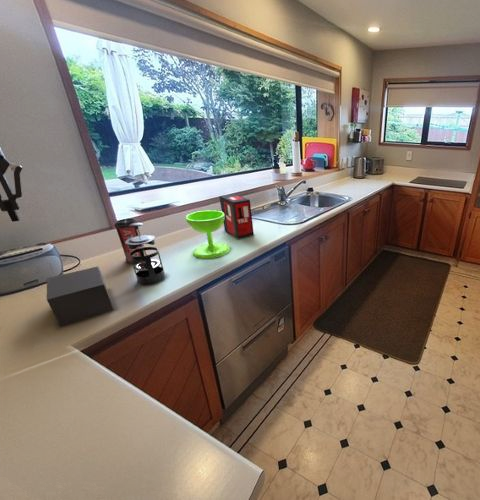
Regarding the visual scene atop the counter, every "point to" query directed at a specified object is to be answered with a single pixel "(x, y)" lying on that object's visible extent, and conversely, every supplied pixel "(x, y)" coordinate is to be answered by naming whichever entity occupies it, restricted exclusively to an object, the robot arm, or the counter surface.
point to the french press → (145, 259)
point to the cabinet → (78, 295)
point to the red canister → (127, 237)
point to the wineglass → (208, 232)
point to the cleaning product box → (237, 215)
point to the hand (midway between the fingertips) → (15, 220)
